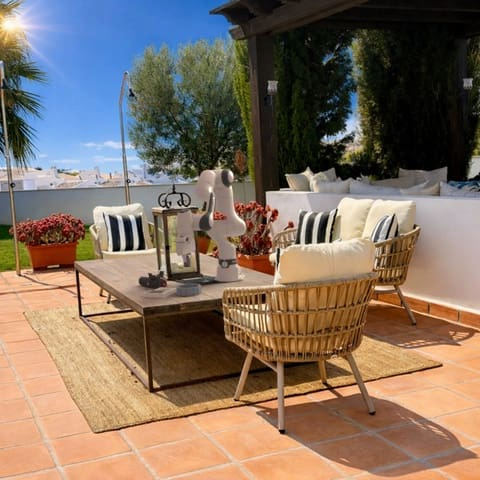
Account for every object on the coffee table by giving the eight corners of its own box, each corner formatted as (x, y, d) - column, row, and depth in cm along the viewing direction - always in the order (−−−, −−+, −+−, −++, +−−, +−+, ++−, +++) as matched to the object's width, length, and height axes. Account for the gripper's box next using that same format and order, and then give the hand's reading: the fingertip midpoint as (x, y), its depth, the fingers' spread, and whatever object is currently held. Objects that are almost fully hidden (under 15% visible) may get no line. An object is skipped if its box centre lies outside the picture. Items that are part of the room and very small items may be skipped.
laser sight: (148, 284, 401) (147, 269, 400) (170, 288, 385) (169, 272, 384) (136, 286, 394) (135, 271, 393) (158, 290, 378) (157, 274, 377)
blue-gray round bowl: (182, 291, 372) (182, 283, 372) (204, 291, 368) (203, 283, 367) (172, 295, 359) (172, 288, 358) (195, 296, 355) (195, 288, 354)
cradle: (160, 290, 378) (159, 285, 377) (178, 290, 374) (178, 285, 374) (144, 297, 358) (144, 292, 358) (163, 297, 354) (163, 292, 354)
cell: (185, 266, 364) (184, 253, 363) (191, 266, 363) (191, 253, 362) (182, 267, 360) (182, 254, 360) (189, 267, 359) (188, 254, 358)
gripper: (187, 235, 371) (188, 258, 372) (173, 239, 351) (174, 264, 353) (197, 235, 369) (198, 258, 370) (183, 239, 349) (185, 264, 351)
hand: (186, 261), depth 361 cm, fingers closed on cell, 4 cm apart
